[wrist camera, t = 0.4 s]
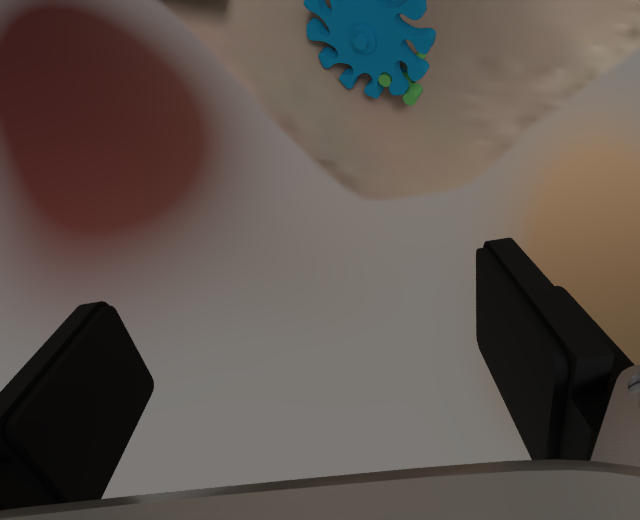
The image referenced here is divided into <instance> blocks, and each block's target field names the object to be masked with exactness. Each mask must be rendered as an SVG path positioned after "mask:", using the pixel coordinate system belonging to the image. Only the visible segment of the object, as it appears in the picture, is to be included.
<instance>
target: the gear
mask: <svg viewBox="0 0 640 520" xmlns="http://www.w3.org/2000/svg"><path fill="white" fill-rule="evenodd" d="M330 3H331V7H332V9H330V8H329V7H328V6H327V5H326V2H325V0H305V1H304V5H305V7H306V8H307V9H308V10H309V11H312V12H314V13H315V14H317V15H318V16H319V17H320V18H321V19H322V20H323V21H324V22H325V24H326V25H327V27H328V28H329V30H328V29H326V27H325V26H324V25H323V23H322V22H321V21H320V20H319V19H318V18H312V20H311V21H310V22H309V23H308V24H307V29H306V30H307V37H308V38H309V39H310V40H312V41H317V40H318V41H324V42H326V43H328V44H330V45H331V46H333V47H334V48H335V49H336V50H337V51H335V50H333V49H332V48H330V47H325V48H324V49H323V50H322V51H321V52H320V54H319V59H320V61H321V63H322V65H323V67H324V68H330V67H331V66H332V65H333V64H336V63H346V64H349V65H350V66H351V67H352V68H353V69H351V68H347V69H345V70H344V72H343V73H342V74H341V76H340V77H339V80H340V81H341V82H342V84H343V85H344V86H346V87H347V88H348V89H351V88H352V87H353V86H354V84H355V83H356V82H357V80H358V76H359V75H361V74H363V73H367V74H369V75H370V76H371V77H372V79H371V80H370V81H369V83H368V84H367V86H366V87H365V89H364V91H365V94H367V95H368V96H370V97H373V98H376V99H377V98H378V97H379V96H380V94H381V93H382V91H383V89H384V87H388V86H389V91H390V93H391V94H392V95H403V94H404V96H403V101H404V102H405V103H406V104H407V105H414V104H415V102H416V101H417V99H418V98H419V96H420V94H421V93H422V90H423V89H422V87H421V85H420V84H418V83H415V82H416V81H417V80H419V79H420V78H422V77H423V75H424V74H425V73H426V72H427V70H428V68H429V67H430V66H429V64H428V62H427V61H426V60H424V58H425V56H426V54H427V52H428V51H429V49H430V48H431V47H432V45H433V43H434V41H435V36H436V32H435V30H433V29H431V28H415V27H413V26H411V25H409V24H407V23H406V22H404V21H403V20H402V19H401V17H400V14H404V15H405V16H407V17H408V18H410V19H412V20H418V19H420V18H421V17H422V15H423V14H424V13H425V11H426V9H427V6H426V0H330ZM405 39H406V40H410V41H411V42H412V43H413V45H414V46H415V48H416V50H417V51H418V52H417V53H416V55H415V54H414V53H413V52H412V51H411V49H410V48H409V46H408V44H407V43H406V40H405Z"/></svg>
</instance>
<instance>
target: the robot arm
mask: <svg viewBox="0 0 640 520" xmlns="http://www.w3.org/2000/svg"><path fill="white" fill-rule="evenodd" d="M476 321H477V322H476V331H477V333H476V335H477V342H478V346H479V349H480V352H481V354H482V356H483V358H484V360H485V362H486V364H487V366H488V368H489V370H490V373H491V375H492V377H493V379H494V381H495V383H496V385H497V387H498V389H499V392H500V394H501V396H502V398H503V400H504V402H505V404H506V406H507V408H508V410H509V412H510V415H511V417H512V419H513V421H514V423H515V425H516V427H517V429H518V431H519V434H520V435H521V438H522V440H523V442H524V444H525V446H526V448H527V450H528V452H529V455H530V457H531V459H532V460H523V461H502V462H488V463H476V464H463V465H450V466H437V467H424V468H412V469H402V470H392V471H381V472H370V473H360V474H349V475H339V476H328V477H318V478H308V479H297V480H286V481H276V482H266V483H255V484H246V485H237V486H236V485H235V486H225V487H215V488H205V489H195V490H186V491H176V492H166V493H157V494H146V495H136V496H128V497H118V498H109V499H101V498H102V496H103V494H104V492H105V489H106V487H107V485H108V483H109V481H110V479H111V477H112V475H113V473H114V471H115V469H116V467H117V465H118V463H119V461H120V458H121V456H122V454H123V452H124V450H125V448H126V446H127V444H128V442H129V440H130V438H131V436H132V434H133V432H134V430H135V427H136V426H137V423H138V421H139V419H140V417H141V415H142V413H143V411H144V409H145V407H146V405H147V403H148V401H149V399H150V397H151V394H152V392H153V389H154V382H153V378H152V376H151V374H150V372H149V371H148V369H147V367H146V365H145V363H144V361H143V359H142V357H141V356H140V354H139V352H138V350H137V348H136V347H135V345H134V343H133V341H132V339H131V337H130V335H129V333H128V331H127V329H126V328H125V326H124V324H123V322H122V320H121V318H120V316H119V314H118V313H117V311H116V309H115V308H114V307H113V306H109V305H108V304H107V303H106V302H103V301H101V302H95V303H89V304H83V305H80V306H78V307H77V308H76V309H75V310H74V312H73V313H72V314H71V315H70V316H69V317H68V318H67V319H66V320H65V321H64V322H63V323H62V325H61V326H60V327H59V328H58V329H57V330H56V331H55V333H54V334H53V335H52V336H51V337H50V338H49V339H48V340H47V341H46V342H45V343H44V345H43V346H42V347H41V348H40V349H39V350H38V351H37V352H36V353H35V354H34V356H33V357H32V358H31V359H30V360H29V361H28V362H27V363H26V364H25V365H24V367H23V368H22V369H21V370H20V371H19V372H18V373H17V374H16V375H15V376H14V378H13V379H12V380H11V381H10V382H9V383H8V384H7V385H6V387H5V388H4V389H3V390H2V391H1V392H0V520H640V365H634V364H633V363H632V362H631V360H629V358H627V356H626V355H625V354H624V353H623V352H622V351H621V350H620V349H619V347H618V346H617V345H616V344H615V343H614V342H613V341H612V340H611V339H610V338H609V337H608V336H607V334H606V333H605V332H604V331H603V330H602V329H601V328H600V327H599V326H598V324H597V323H596V322H595V321H594V320H593V319H592V318H591V317H590V316H589V315H588V314H587V312H586V311H585V310H584V309H583V308H582V307H581V306H580V305H579V304H578V303H577V302H576V301H575V299H574V298H573V297H572V296H571V295H570V294H569V293H568V292H567V291H566V290H565V289H564V288H562V287H560V286H554V285H553V284H552V283H551V282H550V281H549V280H548V278H547V277H546V276H545V275H544V274H543V273H542V272H541V271H540V269H539V268H538V267H537V266H536V265H535V264H534V263H533V262H532V260H531V259H530V258H529V257H528V256H527V255H526V254H525V253H524V252H523V250H522V249H521V248H520V247H519V246H518V245H517V243H516V242H515V241H514V240H513V239H512V238H504V239H498V240H491V241H486V242H485V243H484V246H483V248H479V249H477V251H476Z"/></svg>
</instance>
